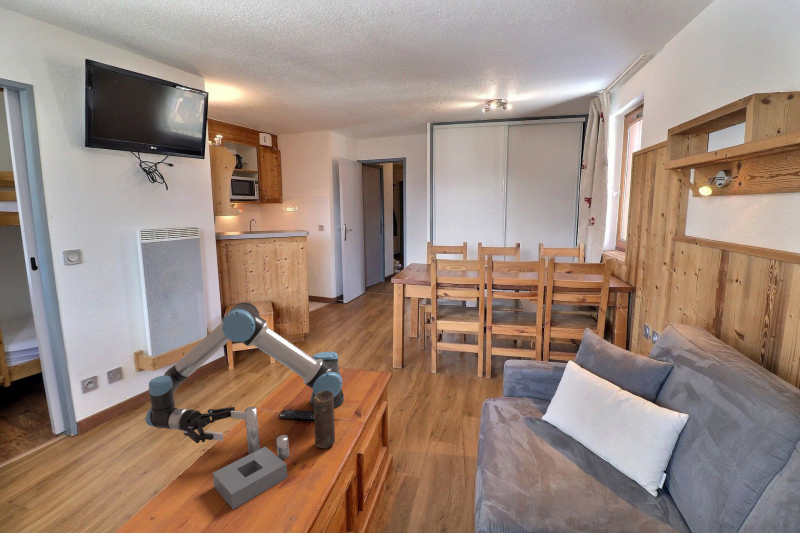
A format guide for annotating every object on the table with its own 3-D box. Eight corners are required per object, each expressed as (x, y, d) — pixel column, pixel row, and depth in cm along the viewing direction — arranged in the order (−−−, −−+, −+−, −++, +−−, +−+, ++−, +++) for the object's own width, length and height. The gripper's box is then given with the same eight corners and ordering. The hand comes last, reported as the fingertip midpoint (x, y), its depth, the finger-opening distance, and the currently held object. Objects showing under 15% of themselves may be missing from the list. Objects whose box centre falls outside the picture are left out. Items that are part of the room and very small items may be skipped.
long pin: (257, 447, 142) (253, 405, 139) (262, 452, 139) (258, 409, 137) (246, 452, 139) (242, 409, 136) (251, 457, 136) (247, 413, 134)
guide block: (266, 459, 135) (265, 446, 134) (287, 477, 126) (286, 463, 125) (214, 487, 122) (212, 472, 121) (233, 509, 113) (231, 494, 112)
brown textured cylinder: (339, 440, 145) (336, 391, 142) (329, 452, 138) (326, 401, 135) (321, 437, 147) (318, 388, 144) (311, 448, 140) (308, 398, 137)
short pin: (285, 451, 139) (284, 433, 138) (291, 455, 137) (290, 437, 136) (275, 456, 137) (274, 438, 135) (281, 461, 134) (279, 443, 133)
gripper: (210, 411, 156) (256, 417, 151) (159, 449, 132) (212, 457, 127) (208, 394, 155) (254, 399, 150) (156, 429, 131) (209, 436, 126)
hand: (235, 426), depth 139 cm, fingers open, 13 cm apart
